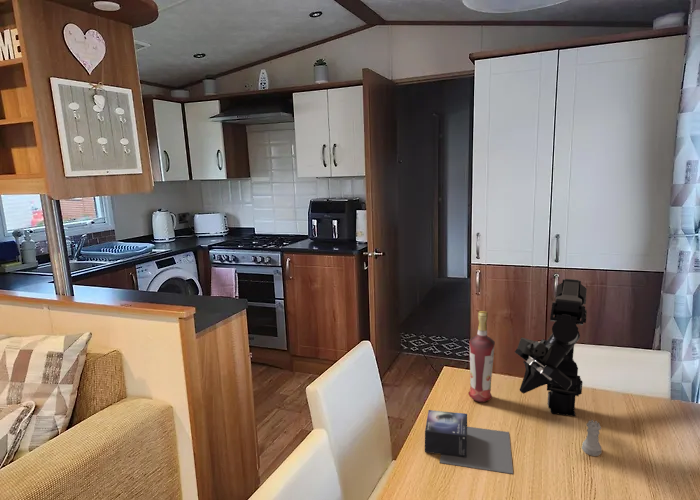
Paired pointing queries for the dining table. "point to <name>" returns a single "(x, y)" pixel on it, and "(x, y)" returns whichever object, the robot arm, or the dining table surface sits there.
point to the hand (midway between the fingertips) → (521, 392)
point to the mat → (484, 451)
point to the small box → (446, 433)
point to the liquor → (481, 361)
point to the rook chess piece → (592, 439)
